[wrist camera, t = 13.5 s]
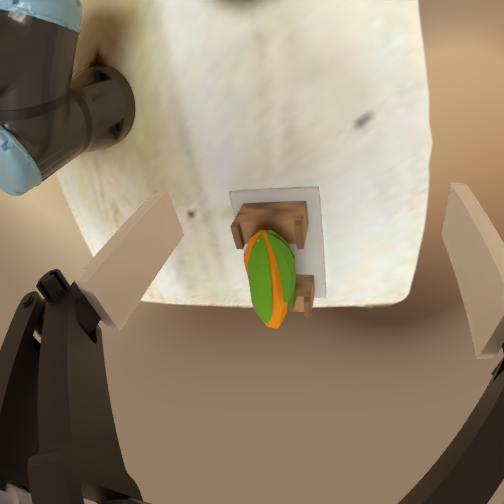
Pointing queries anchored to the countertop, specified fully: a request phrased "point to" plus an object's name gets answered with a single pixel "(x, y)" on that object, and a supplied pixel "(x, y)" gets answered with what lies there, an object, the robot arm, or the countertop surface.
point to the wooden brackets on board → (289, 228)
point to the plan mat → (313, 252)
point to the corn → (270, 276)
